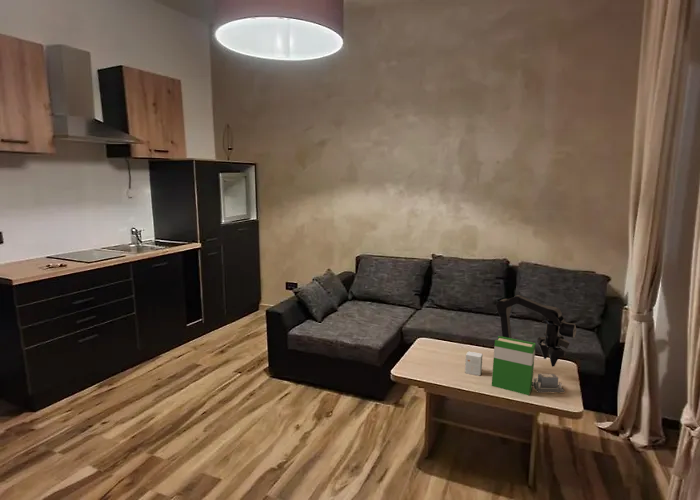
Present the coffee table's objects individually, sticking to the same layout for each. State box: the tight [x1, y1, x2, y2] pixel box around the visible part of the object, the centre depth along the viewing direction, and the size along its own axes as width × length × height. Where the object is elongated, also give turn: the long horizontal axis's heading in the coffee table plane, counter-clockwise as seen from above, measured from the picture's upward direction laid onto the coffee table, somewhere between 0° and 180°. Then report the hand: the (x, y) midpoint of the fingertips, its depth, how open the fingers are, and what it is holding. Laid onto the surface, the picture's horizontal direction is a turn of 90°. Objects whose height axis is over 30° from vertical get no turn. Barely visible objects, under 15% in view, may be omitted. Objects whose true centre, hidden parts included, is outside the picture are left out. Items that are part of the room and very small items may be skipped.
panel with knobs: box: [532, 377, 566, 393], centre depth 216 cm, size 13×9×4 cm
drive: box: [537, 373, 559, 388], centre depth 216 cm, size 8×4×6 cm, turn 90°
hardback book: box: [491, 335, 537, 396], centre depth 215 cm, size 18×7×24 cm, turn 58°
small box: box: [464, 351, 483, 377], centre depth 232 cm, size 8×6×10 cm
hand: (548, 362), depth 219 cm, fingers open, 9 cm apart
